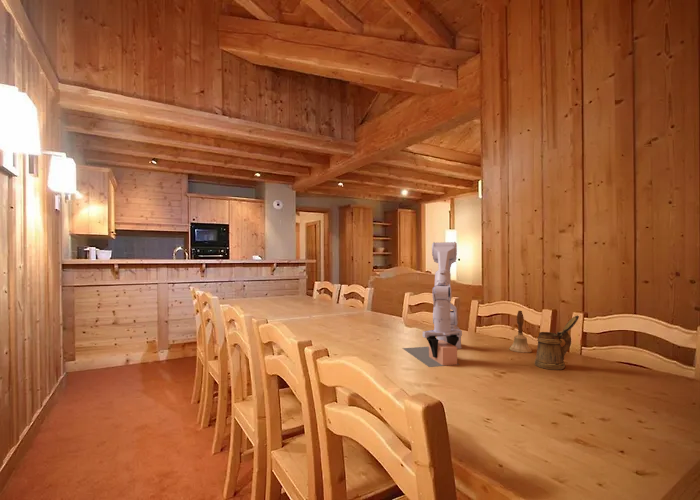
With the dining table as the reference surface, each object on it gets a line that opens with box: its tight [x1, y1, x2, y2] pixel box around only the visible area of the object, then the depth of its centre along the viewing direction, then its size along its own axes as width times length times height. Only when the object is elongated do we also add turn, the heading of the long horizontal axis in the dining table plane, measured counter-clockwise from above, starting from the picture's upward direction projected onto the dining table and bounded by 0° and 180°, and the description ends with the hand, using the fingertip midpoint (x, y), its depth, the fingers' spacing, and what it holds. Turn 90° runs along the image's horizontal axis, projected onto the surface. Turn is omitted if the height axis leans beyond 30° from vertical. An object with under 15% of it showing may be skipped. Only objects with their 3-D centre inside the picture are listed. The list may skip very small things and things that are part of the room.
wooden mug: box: [534, 315, 580, 371], centre depth 121 cm, size 9×14×18 cm, turn 68°
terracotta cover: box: [428, 340, 458, 366], centre depth 127 cm, size 5×11×6 cm, turn 12°
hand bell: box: [509, 310, 533, 354], centre depth 144 cm, size 8×8×16 cm
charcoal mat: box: [402, 346, 461, 368], centre depth 133 cm, size 12×26×1 cm, turn 12°
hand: (442, 356), depth 127 cm, fingers closed on terracotta cover, 5 cm apart
